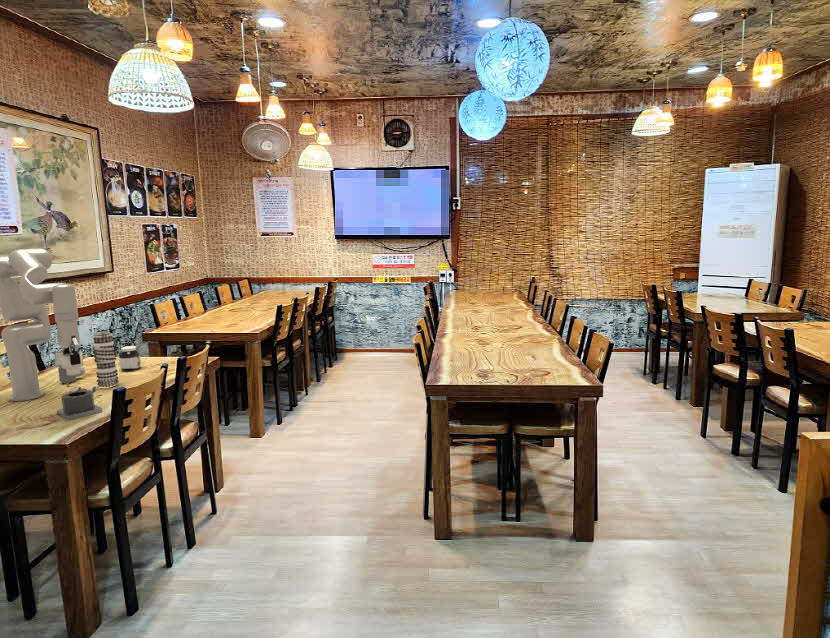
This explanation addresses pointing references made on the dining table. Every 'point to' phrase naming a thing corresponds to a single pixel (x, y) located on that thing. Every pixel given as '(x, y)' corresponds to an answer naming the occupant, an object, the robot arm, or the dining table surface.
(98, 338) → the decorative candle
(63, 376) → the camera
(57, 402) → the dining table surface
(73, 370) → the cup
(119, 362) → the spread jar
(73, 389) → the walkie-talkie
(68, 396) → the gray square-based holder
